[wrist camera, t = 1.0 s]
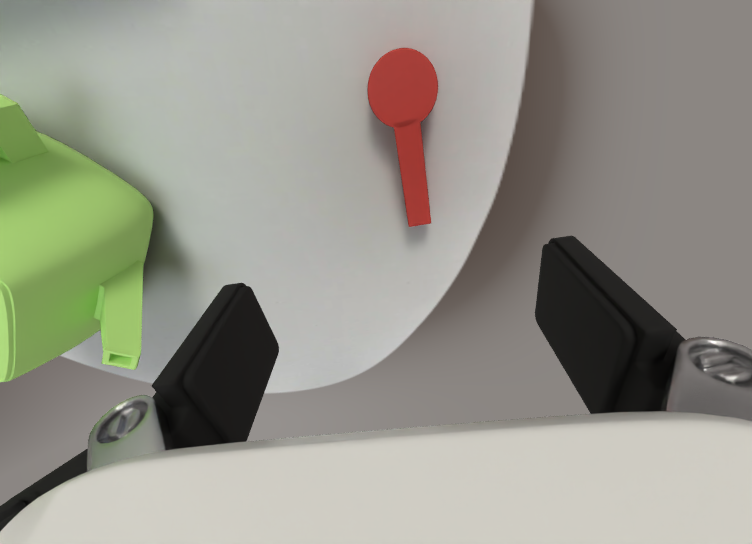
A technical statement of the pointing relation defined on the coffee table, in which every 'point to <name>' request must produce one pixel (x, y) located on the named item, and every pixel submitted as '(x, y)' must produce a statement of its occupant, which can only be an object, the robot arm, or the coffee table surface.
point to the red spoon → (406, 119)
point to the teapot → (66, 251)
